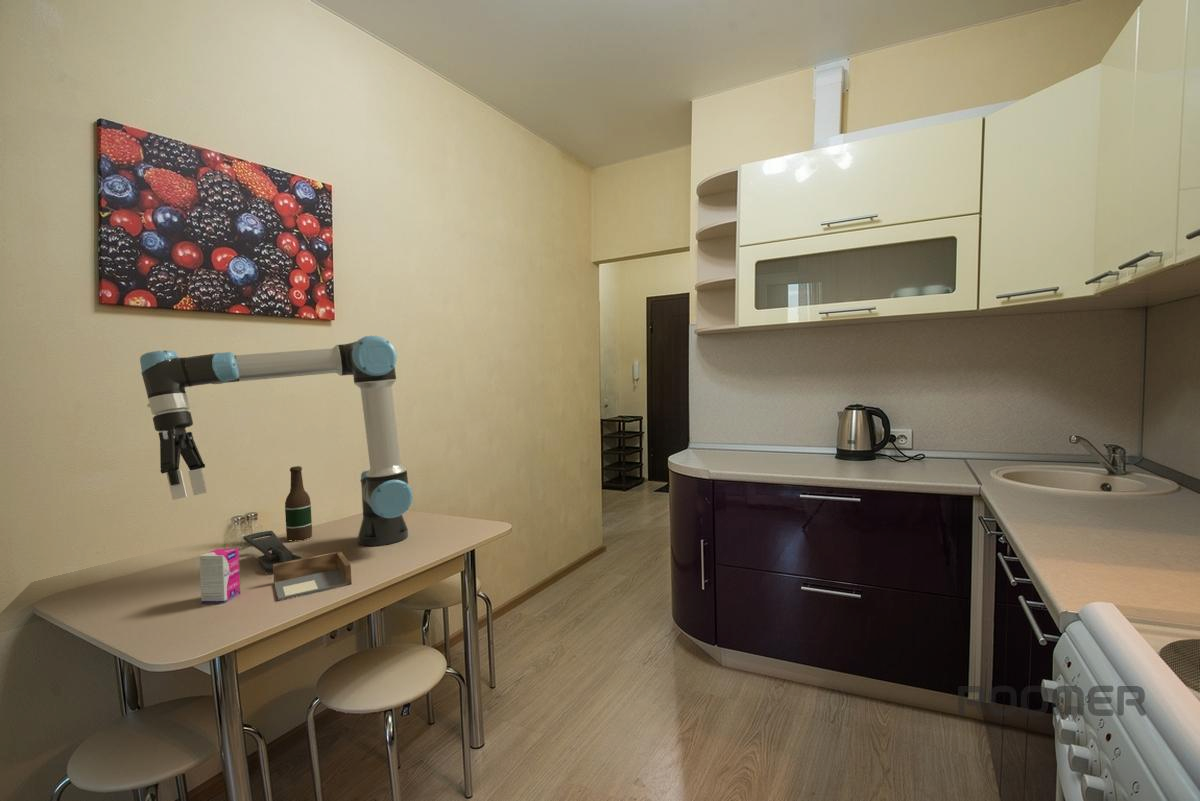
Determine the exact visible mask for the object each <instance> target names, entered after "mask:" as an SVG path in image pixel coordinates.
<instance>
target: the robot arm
mask: <svg viewBox="0 0 1200 801" xmlns="http://www.w3.org/2000/svg"><path fill="white" fill-rule="evenodd" d="M397 358H398V357H397V351H396V349H395V347H394V345H393V344H392V343H391V342H390V341H389V340H388V339H386V338H384V337H382V336H377V335H369V336H368V335H366V336H364V337H361V338H359V339H358V340H356V341H353V342H349V343H342V344H336V345H334V346H333V347H332V348H319V349H306V350H291V351H280V352H266V353H265V352H263V353H249V354H236V355H235V354H234V353H233V352H231V351H227V352H216V353H209V354H203V355H202V354H201V355H194V356H188V357H182V356H181V357H179V356H178V353H177V352H176V351H174V350H168V349H167V350H154V351H149V352H146V353H143V354H141V356H140V357H139V363H140V368H141V372H140V373H141V375H142V380H143V383H144V388H145V392H146V395H147V399H148V402H149V403H147V405H146V406H147V407H148V408H150V412H151V414H152V415H154V416H153V417H152V421H153V426H154V430H155V431H156V432H158V436H159V437H158V438H159V445H160V446H159V450H160V451H159V455H160V460H159V461H160V469H159V470H160V473H161V474H166V477H167V481H168V486H169V491H170V494H171V495H170V496H171V499H172V501H174V500H178V499H183V498H188V494H187V489H186V484H185V480H184V476H183V471H182V470H180V462H181V461H180V460H181V457H182V460H183V461H184V462H185V464H186V465H187V468H188V471H187V472H188V476H189V481H190V486H191V489H192V493H193V496H198V495H203V494H207V493H208V491H207V487H206V482H205V478H204V473H203V469H204V468H206V464H205V463H204V461H203V459H202V457H201V454H200V452H199V449H198V447H197V445H196V442H195V440H194V436H193V432H192V431H188V432H187V431H186V428H190V427H191V426H193V425H194V422H193V418H192V413H191V412H190V411H189V410H190V402H189V400H188V395H187V391H186V388H188V387H189V388H192V387H195V386H203V385H209V384H211V385H222V384H226V383H228V384H229V383H237V382H238V383H239V382H248V381H249V382H250V381H259V380H261V381H262V380H269V379H280V378H281V379H282V378H292V377H305V376H314V375H326V374H327V375H328V374H337V375H338V376H352V377H353V382H354V384H353V385H355V386H356V387H358V388H359V389H360V396H361V401H362V402H361V403H362V404H361V405H362V411H363V420H364V427H365V428H364V429H365V435H366V436H365V437H366V444H367V452H368V462H369V470H363V471H362V472H361V474H360V481H359V482H360V485H361V501H362V505H361V507H362V521H361V524H360V527H359V531H358V534H357V540H358V541H357V542H358V544H359V545H362V546H368V547H371V546H385V545H392V544H395V543H398V542H402V541H405V539H407V538H408V537H409V527H408V526H407V524H406V521H405V519H404V516H403V515H404V514H405V513H407V511H408V510H409V509H410V507H411V505H412V504H413V503H412V502H413V499H414V495H413V491H412V488H411V486H410V485H409V479H408V478H409V476H408V472H407V471H408V470H407V468H406V467H405V466H404V465H403V464H401V456H400V455H401V454H400V448H399V439H398V430H397V422H396V421H397V419H396V413H395V404H394V403H395V402H394V396H393V387H392V386H393V384H395V382H397V374H396V365H397V364H396V363H397Z"/></svg>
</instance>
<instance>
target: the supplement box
mask: <svg viewBox="0 0 1200 801" xmlns="http://www.w3.org/2000/svg"><path fill="white" fill-rule="evenodd" d="M240 573H241V572H240V550H239V548H215V549H213V550H210V551H208V552H206V553H203V554H201V555H199V574H200V576H199V577H200V603H201V604H203V605H205V604H206V603H207V604H224V603H226V602H228V601H230V600H231V599H233V598H234V597H237V596H239V595H241V582H240V575H241V574H240ZM238 594H239V595H238Z"/></svg>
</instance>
